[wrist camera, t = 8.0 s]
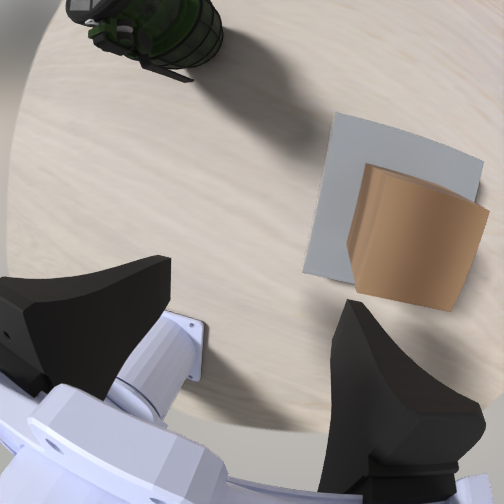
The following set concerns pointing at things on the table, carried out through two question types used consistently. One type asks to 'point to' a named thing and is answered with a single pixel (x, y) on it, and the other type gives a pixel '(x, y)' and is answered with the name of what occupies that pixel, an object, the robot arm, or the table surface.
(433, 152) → the gray block
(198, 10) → the grenade
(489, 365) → the table surface
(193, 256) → the table surface
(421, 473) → the robot arm
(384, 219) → the walnut block
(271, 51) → the table surface
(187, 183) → the table surface
